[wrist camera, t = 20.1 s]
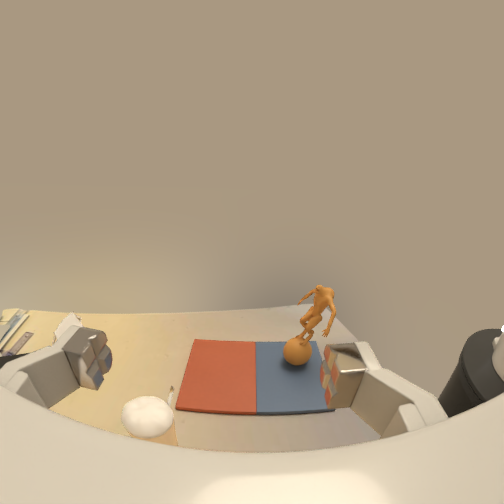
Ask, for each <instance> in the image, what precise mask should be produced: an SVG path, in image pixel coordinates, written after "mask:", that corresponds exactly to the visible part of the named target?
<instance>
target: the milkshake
mask: <svg viewBox="0 0 504 504" xmlns="http://www.w3.org/2000/svg"><path fill="white" fill-rule="evenodd" d="M173 392H174V387H173V386H171V388H170V392H169V397H168V401H167V403H166V402H165V401H163V400H162V399H160V398H157V397H153V396H142V397H138V398H135V399H133V400H131V401H129V402H127V403H126V404H125V405H124V407H123V409H122V414H121V421H122V424H123V426H124V428H125V429H126V430H127V432H128V433H129V434H130V436H131V437H133V438H137V439H141V440H146V441H150V442H155V443H161V444H166V445H172V446H178V442H177V437H176V431H175V424H174V415H173V411H172V409H171V408H170V405H171V401H172V396H173Z"/></svg>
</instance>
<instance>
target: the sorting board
mask: <svg viewBox="0 0 504 504" xmlns="http://www.w3.org/2000/svg"><path fill="white" fill-rule="evenodd" d="M308 342H309V343H310V345H311V347H312V355H311V357H310V359H309V360H308V361H307V362H306V363H304V364H302V365H292V364H290V363H288V362H287V361H286V359H285V358H284V355H283V349H284V346H285V344H286V343H287V342H243V341H216V340H199V339H195V340H194V343H193V346H192V350H191V353H190V357H189V360H188V364H187V367H186V371H185V374H184V378H183V381H182V385H181V388H180V392H179V396H178V399H177V403H176V409H179V410H187V411H197V412H208V413H223V414H249V415H256V414H257V415H273V414H299V413H314V412H325V411H334V410H335V409H328V408H327V405H326V401H325V397H324V394H325V391H326V390H325V389H324V388H322V386H321V382H320V368H321V363H322V359H321V356H320V353H319V350H318V347H317V343H316V341H308Z"/></svg>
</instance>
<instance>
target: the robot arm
mask: <svg viewBox="0 0 504 504" xmlns="http://www.w3.org/2000/svg"><path fill="white" fill-rule="evenodd" d="M501 331H503V332H502V334H501V336H500V337H496V338H495V339H494V340H493V342H492V344H493V348H494V352H493V355H492V362H493V366H494V368H495V370H496V372H497V374H498V375H499V377H500V378H501V379H502V380H503V381H504V326H503V328H502V330H501ZM106 342H107V337H106V334H105V333H104V332H103V331H100V330H95V329H90V328H85V327H80V326H75V325H72V326H70V327H69V328H68V329H67V330H66V331H65V332H64V333H63V334H62V335H61V336H60V337H59V338H58V340H57V341H56V342H55V343H54V344H53V345H52V346H47V347H44V348H42V349H39V350H37V351H34V352H32V353H29V354H27V355H25V356H22V357H20V358H17V359H15V360H12V361H10V362H7V363H6V364H5V365H4V366H3V367H2V368H1V369H0V504H504V393H502V394H500V395H498V396H496V397H494V398H493V399H491V400H489V401H487V402H485V403H483V404H481V405H478V406H476V407H474V408H472V409H470V410H467V411H465V412H463V413H461V414H458V415H456V416H453V417H451V418H448V416H447V415H446V413H445V411H444V410H443V408H442V406H441V405H440V403H439V401H438V400H437V398H436V396H435V395H432V394H431V393H429V392H427V391H425V390H424V389H422V388H420V387H418V386H416V385H415V384H413V383H411V382H409V381H407V380H405V379H404V378H402V377H400V376H398V375H397V374H395V373H393V372H392V371H390V370H388V369H386V368H385V369H382V367H381V365H380V363H379V361H378V360H377V358H376V356H375V354H374V353H373V351H372V349H371V347H370V346H369V344H368V342H366V341H363V342H353V343H345V344H327V345H326V347H325V350H324V356H325V360H324V361H323V362H322V363H321V368H320V382H321V386H322V388H324V389H325V390H326V391H325V394H324V397H325V401H326V405H327V408H328V409H338V408H348V407H351V409H352V410H353V411H354V412H355V413H356V414H357V415H358V416H359V417H360V418H361V419H363V420H364V421H365V422H366V423H367V424H368V425H369V426H370V427H372V428H373V429H374V430H375V431H376V432H377V433H378V434H379V435H381V437H380V439H379V440H374V441H369V442H364V443H359V444H353V445H347V446H341V447H334V448H326V449H317V450H307V451H293V452H266V453H253V452H226V451H212V450H202V449H193V448H185V447H179V446H172V445H166V444H161V443H155V442H150V441H146V440H141V439H137V438H133V437H128V436H125V435H121V434H117V433H113V432H110V431H106V430H103V429H100V428H97V427H94V426H91V425H88V424H85V423H82V422H79V421H76V420H74V419H71V418H68V417H66V416H63V415H61V414H58V413H56V412H54V411H51V410H49V408H50V407H52V406H53V405H55V404H56V403H58V402H59V401H60V400H62V399H63V398H65V397H66V396H68V395H69V394H71V393H72V392H74V391H75V390H77V389H78V388H80V386H81V387H85V388H88V389H92V390H98V389H99V387H100V385H101V384H102V382H103V380H104V378H103V375H104V374H105V373H107V372H109V370H110V368H111V365H112V353H111V350H110V348H109V347H108V346H107V345H106Z"/></svg>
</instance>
